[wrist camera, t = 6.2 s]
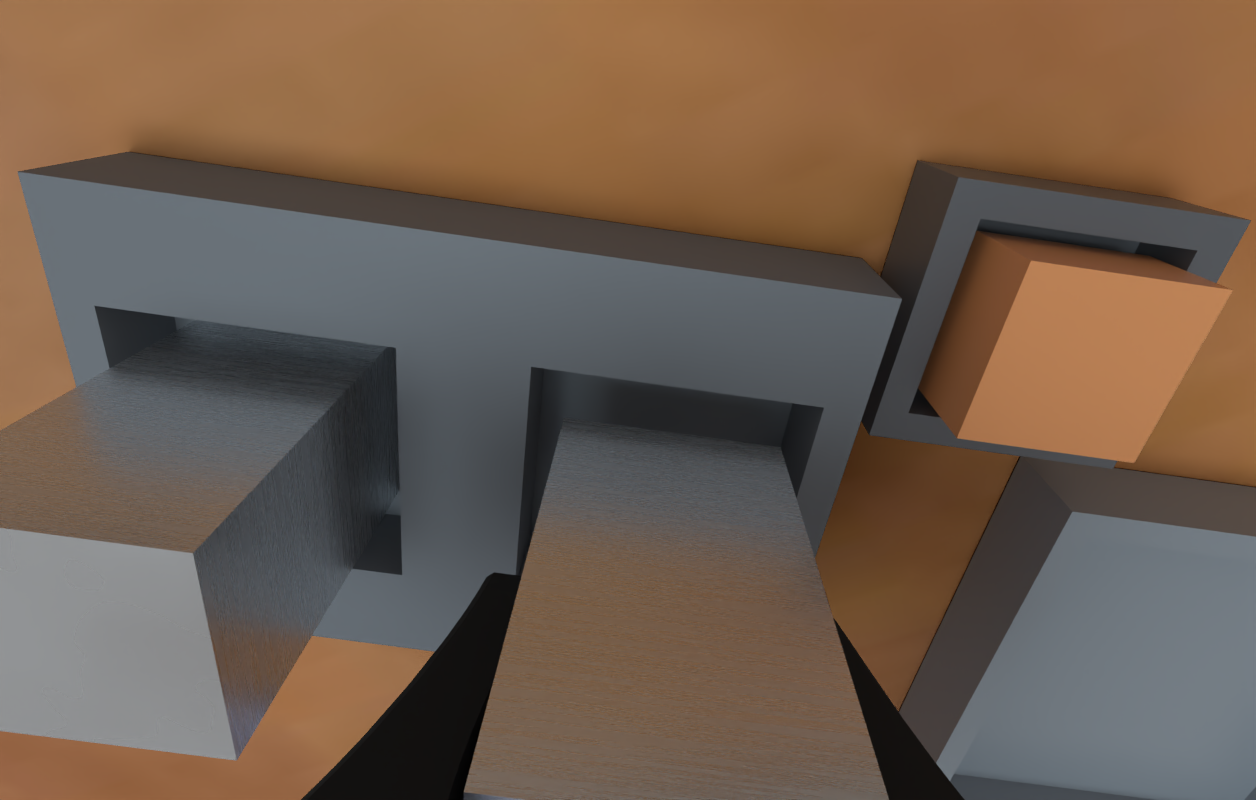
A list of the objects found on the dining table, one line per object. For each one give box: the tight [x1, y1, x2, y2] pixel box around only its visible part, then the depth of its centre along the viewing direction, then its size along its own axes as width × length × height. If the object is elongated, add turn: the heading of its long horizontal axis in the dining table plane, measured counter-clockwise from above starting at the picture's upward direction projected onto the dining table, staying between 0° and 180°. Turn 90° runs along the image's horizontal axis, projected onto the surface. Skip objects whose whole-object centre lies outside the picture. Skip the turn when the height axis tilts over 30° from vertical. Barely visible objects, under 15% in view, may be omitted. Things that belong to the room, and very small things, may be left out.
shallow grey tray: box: [899, 456, 1256, 800], centre depth 17 cm, size 11×11×2 cm
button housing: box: [861, 161, 1251, 469], centre depth 13 cm, size 5×5×2 cm
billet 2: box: [463, 418, 889, 800], centre depth 10 cm, size 4×4×7 cm
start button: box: [918, 231, 1233, 463], centre depth 12 cm, size 3×3×2 cm
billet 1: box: [0, 320, 399, 760], centre depth 12 cm, size 4×4×7 cm
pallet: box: [18, 152, 902, 651], centre depth 15 cm, size 10×15×3 cm, turn 83°
